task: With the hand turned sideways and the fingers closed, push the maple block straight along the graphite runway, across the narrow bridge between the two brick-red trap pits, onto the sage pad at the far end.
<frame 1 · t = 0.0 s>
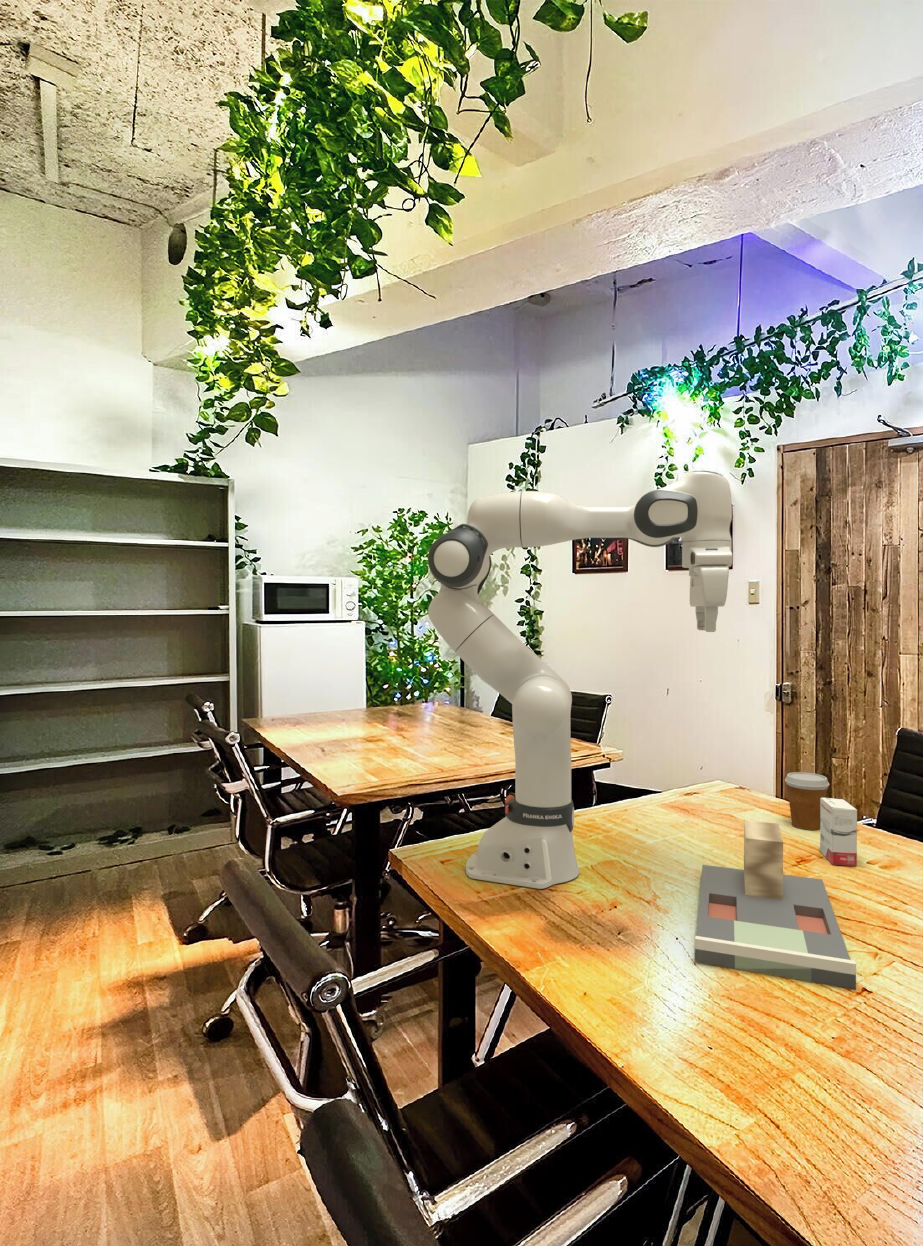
hand: (706, 631, 132), 48 cm above the table, tool pointing down, fingers open, 8 cm apart
trap runway: (769, 952, 106), on the table
maple block: (762, 885, 127), point 2 cm above the table, touching trap runway
disposable coffee cup: (806, 827, 167), on the table
ink box: (837, 859, 146), on the table
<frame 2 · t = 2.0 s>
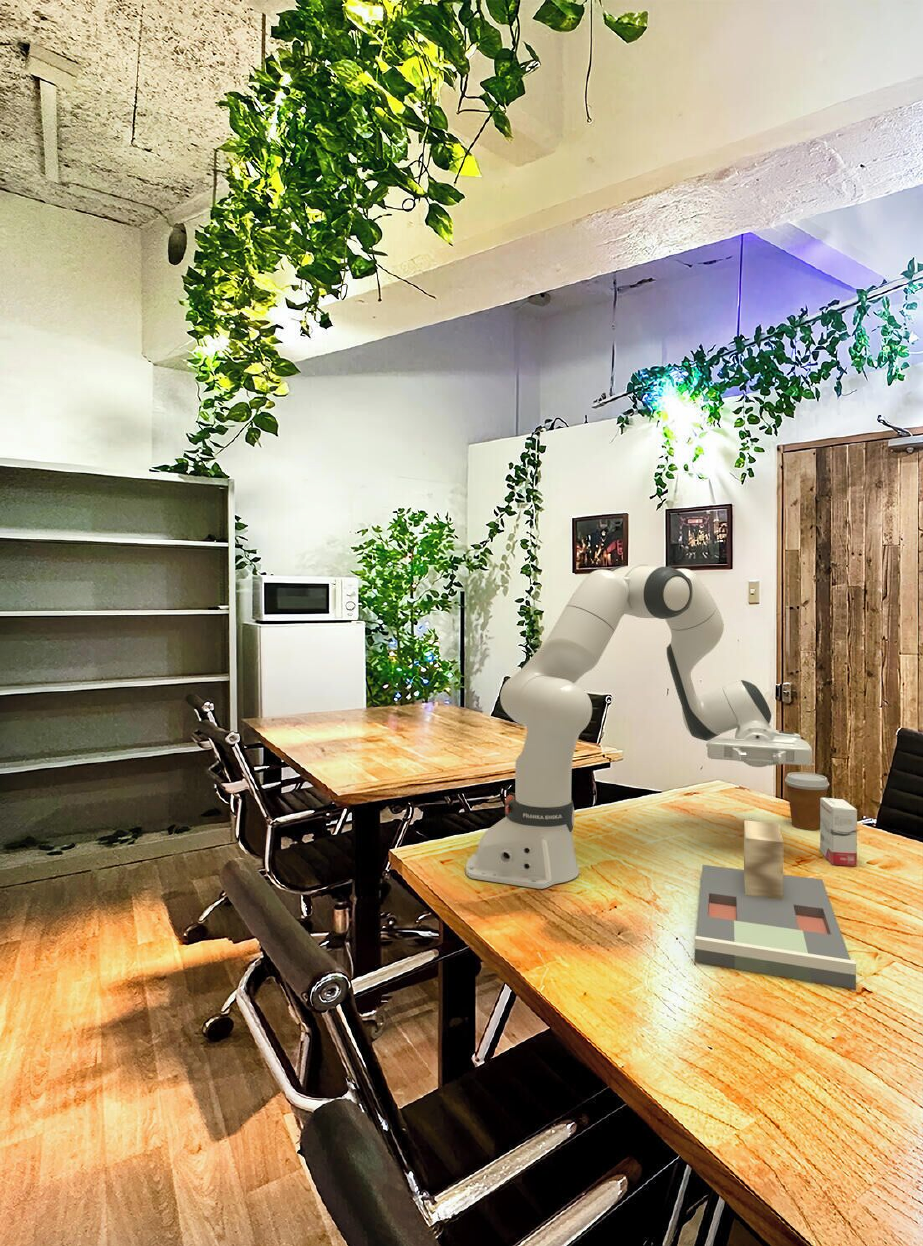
hand: (759, 758, 140), 22 cm above the table, tool horizontal, fingers open, 5 cm apart
nothing on the table moved.
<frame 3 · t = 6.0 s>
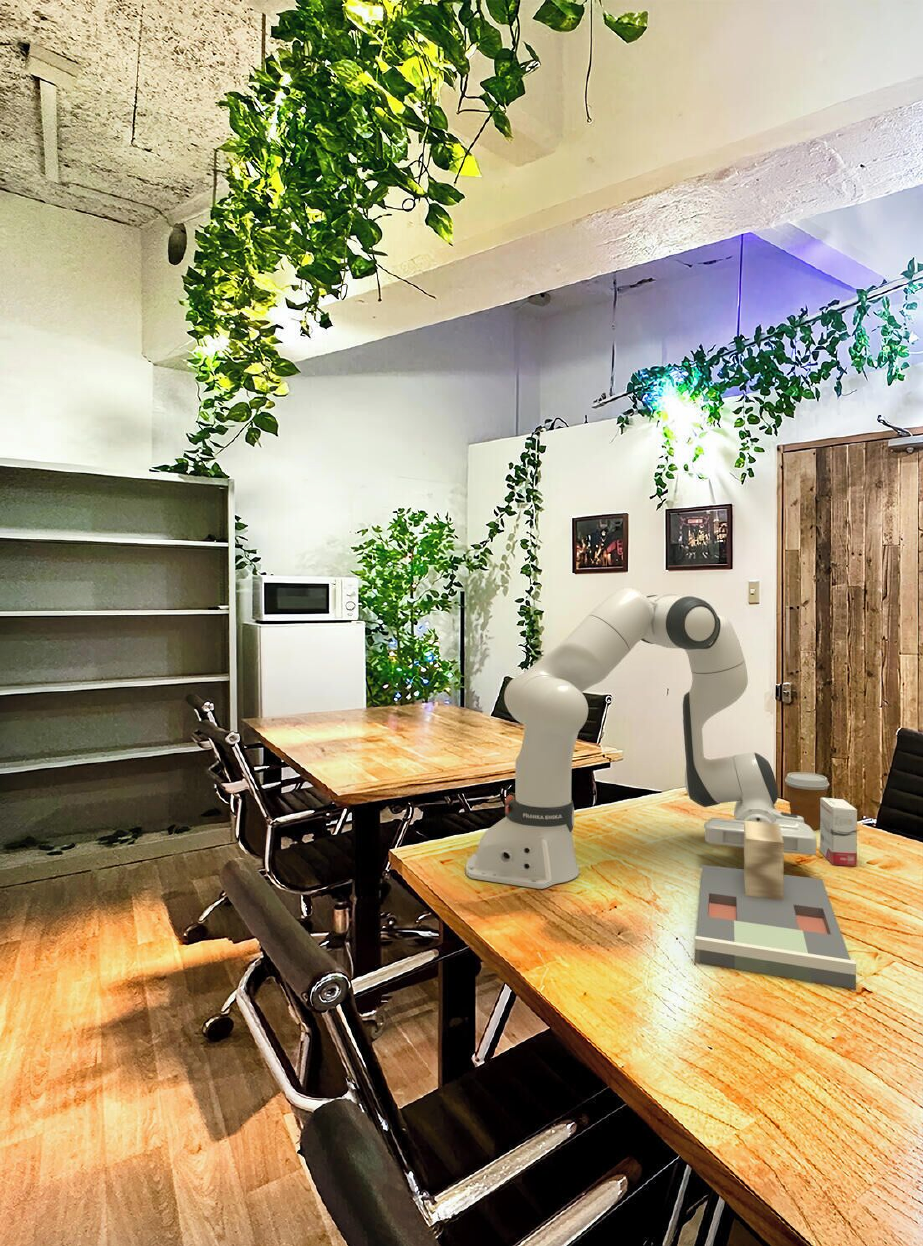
hand: (760, 848, 132), 7 cm above the table, tool horizontal, fingers closed, pressing on maple block
maple block: (762, 885, 127), point 2 cm above the table, touching gripper
everything else where it was.
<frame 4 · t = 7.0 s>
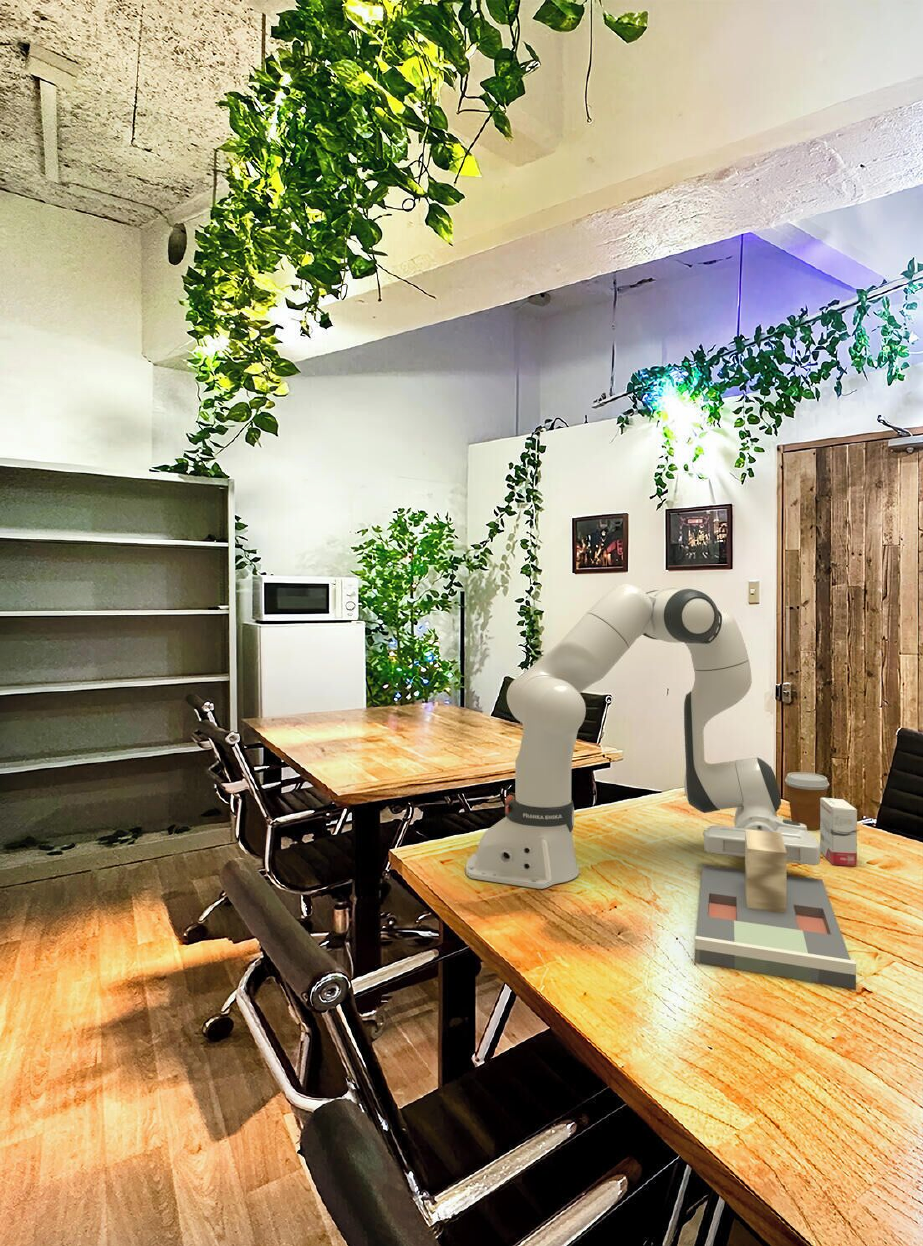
hand: (762, 858, 127), 7 cm above the table, tool horizontal, fingers closed, pressing on maple block
maple block: (764, 897, 121), point 2 cm above the table, touching gripper
everything else where it was.
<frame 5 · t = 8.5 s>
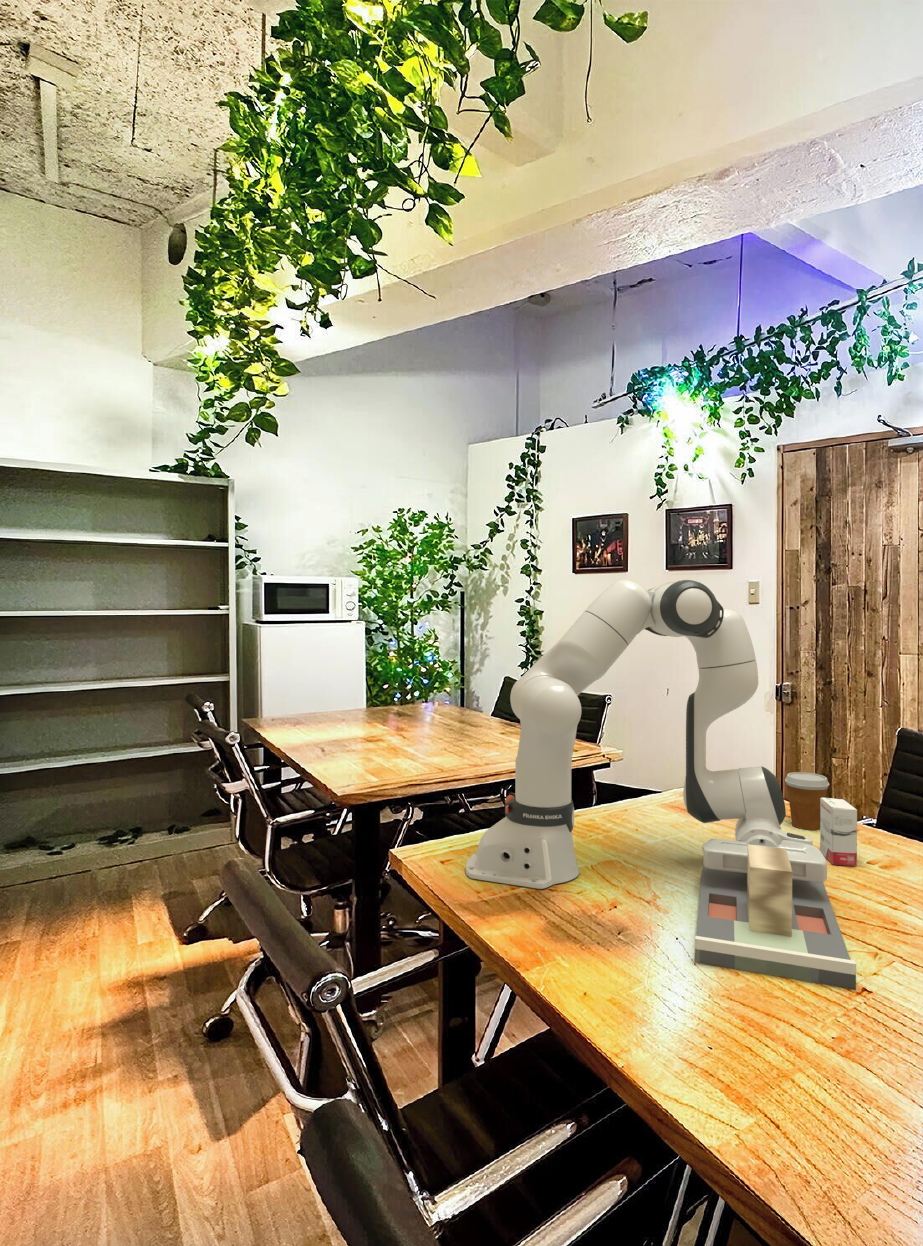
hand: (765, 875, 118), 7 cm above the table, tool horizontal, fingers closed, pressing on maple block
maple block: (768, 918, 113), point 2 cm above the table, touching gripper
everything else where it was.
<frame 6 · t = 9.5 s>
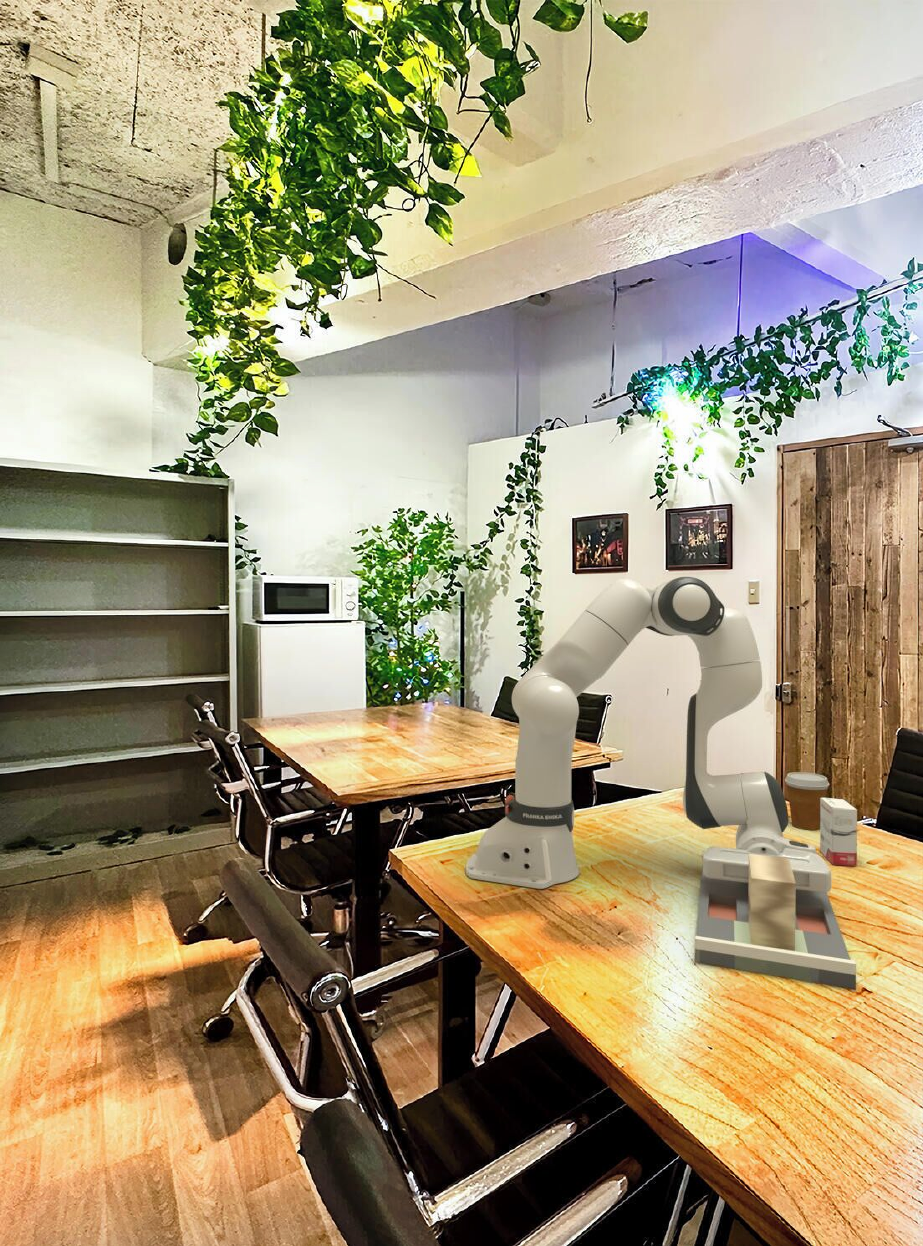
hand: (767, 885, 114), 7 cm above the table, tool horizontal, fingers closed, pressing on maple block
maple block: (770, 931, 109), point 2 cm above the table, touching gripper, trap runway
everything else where it was.
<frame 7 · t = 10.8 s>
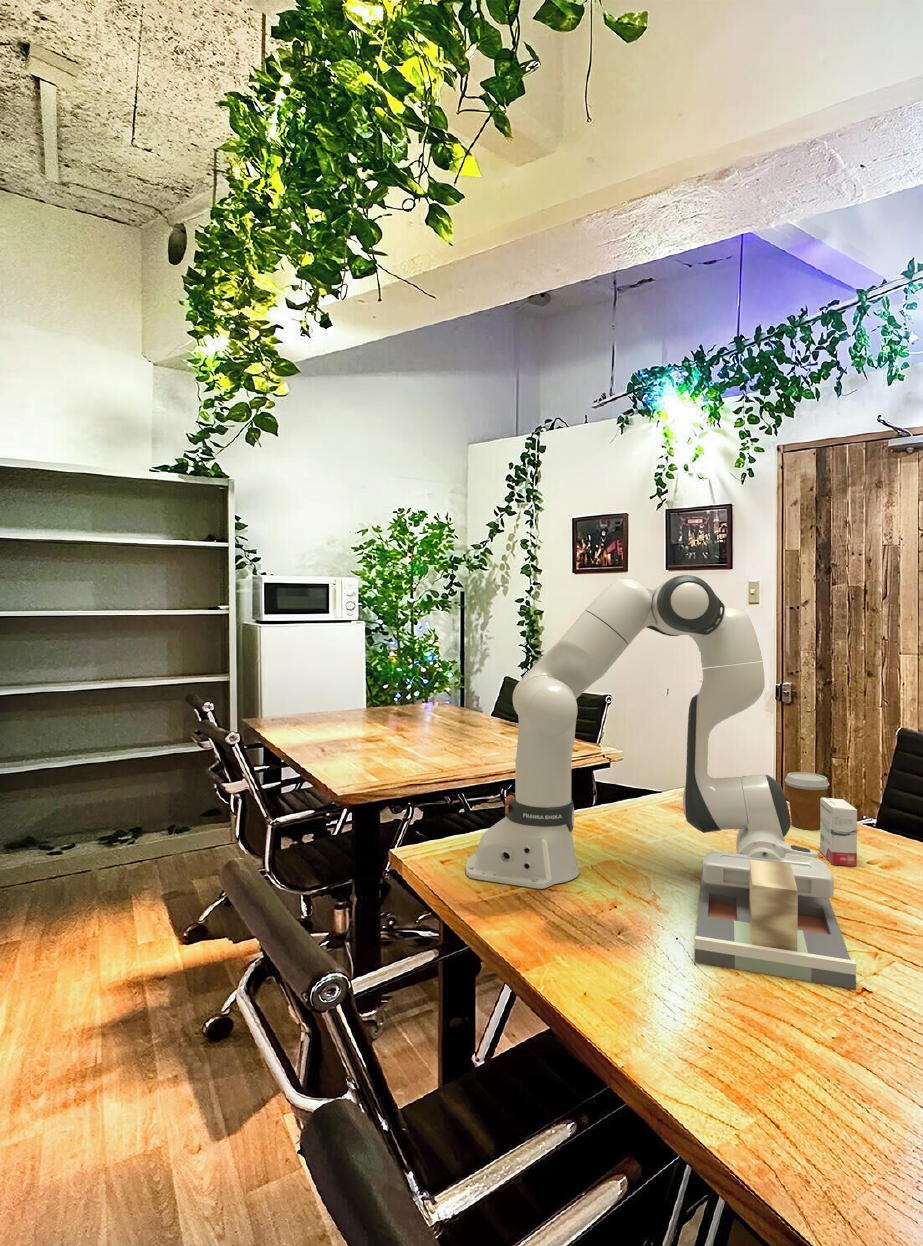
hand: (768, 891, 111), 7 cm above the table, tool horizontal, fingers closed, pressing on maple block
maple block: (771, 939, 106), point 2 cm above the table, touching gripper, trap runway
everything else where it was.
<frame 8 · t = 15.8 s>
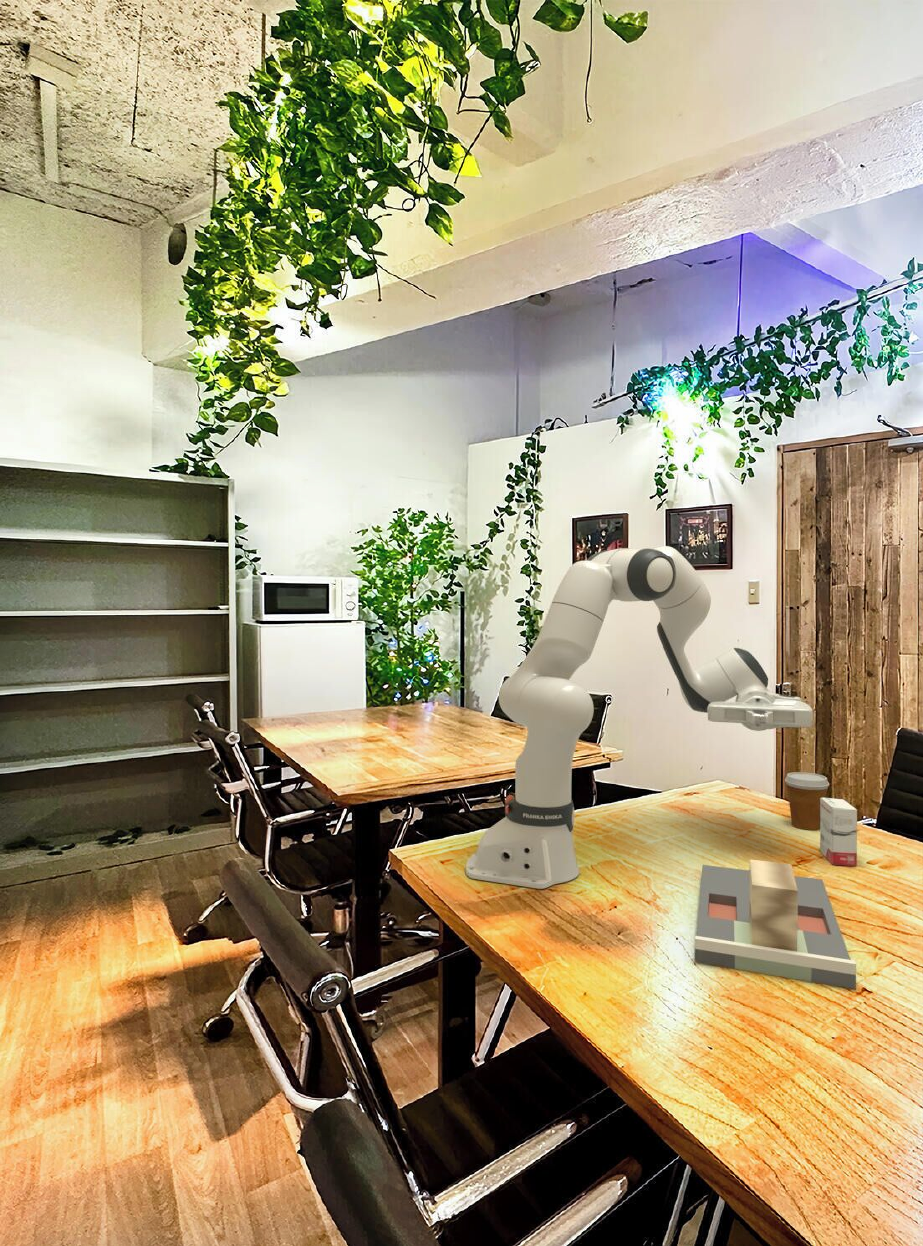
hand: (760, 719, 140), 30 cm above the table, tool horizontal, fingers closed
maple block: (771, 939, 106), point 2 cm above the table, touching trap runway
everything else where it was.
at the end: maple block 0.4 cm from the trap runway (horizontally); maple block tilted 0°; maple block point 2.0 cm above the table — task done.
